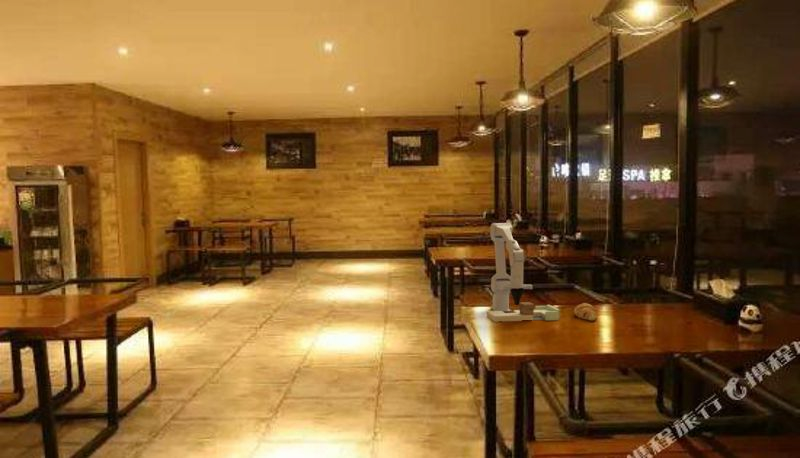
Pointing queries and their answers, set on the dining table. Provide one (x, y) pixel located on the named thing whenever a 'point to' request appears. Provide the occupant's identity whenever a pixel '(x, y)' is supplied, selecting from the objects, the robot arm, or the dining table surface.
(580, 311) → the croissant
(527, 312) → the walnut block
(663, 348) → the dining table surface
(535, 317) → the board
